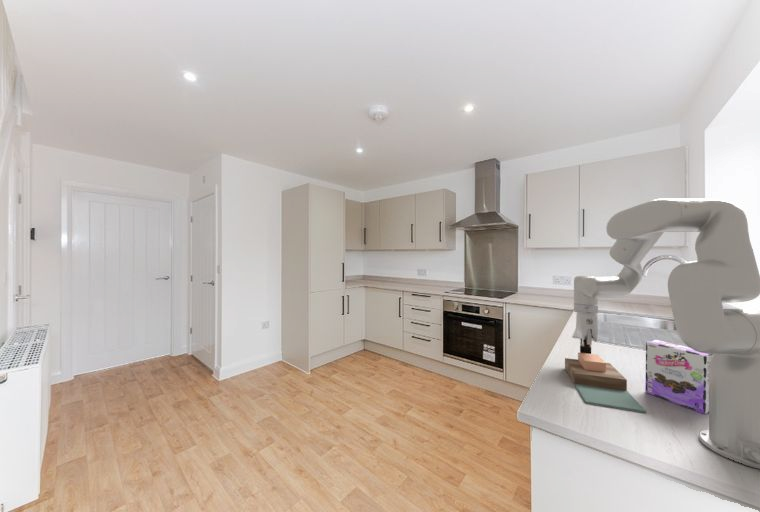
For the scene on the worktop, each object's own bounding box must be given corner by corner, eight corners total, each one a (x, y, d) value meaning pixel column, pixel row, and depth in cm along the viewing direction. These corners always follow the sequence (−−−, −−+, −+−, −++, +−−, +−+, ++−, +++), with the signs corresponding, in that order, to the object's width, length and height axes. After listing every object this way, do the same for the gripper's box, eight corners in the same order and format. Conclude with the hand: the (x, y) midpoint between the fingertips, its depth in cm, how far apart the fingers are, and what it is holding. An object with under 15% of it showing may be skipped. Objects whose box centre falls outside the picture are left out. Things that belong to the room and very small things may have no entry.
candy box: (644, 392, 92) (644, 340, 92) (655, 389, 94) (655, 338, 94) (705, 415, 79) (705, 354, 79) (716, 410, 81) (717, 352, 81)
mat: (646, 413, 80) (646, 410, 80) (585, 403, 85) (585, 401, 85) (627, 393, 91) (627, 391, 91) (575, 385, 97) (575, 383, 97)
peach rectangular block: (605, 371, 98) (605, 363, 98) (584, 369, 100) (584, 360, 100) (597, 362, 106) (597, 354, 106) (578, 360, 108) (578, 352, 108)
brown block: (626, 392, 92) (626, 379, 92) (574, 384, 97) (574, 373, 97) (609, 374, 106) (609, 363, 106) (565, 368, 111) (565, 358, 111)
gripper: (604, 312, 101) (604, 365, 102) (591, 305, 115) (591, 351, 115) (579, 311, 104) (579, 362, 104) (569, 304, 118) (569, 349, 118)
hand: (585, 356), depth 110 cm, fingers closed
